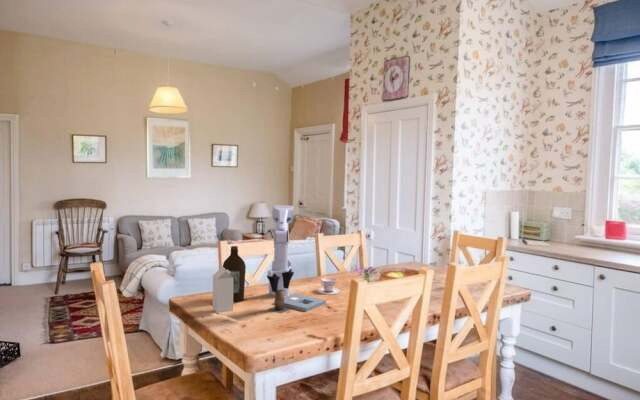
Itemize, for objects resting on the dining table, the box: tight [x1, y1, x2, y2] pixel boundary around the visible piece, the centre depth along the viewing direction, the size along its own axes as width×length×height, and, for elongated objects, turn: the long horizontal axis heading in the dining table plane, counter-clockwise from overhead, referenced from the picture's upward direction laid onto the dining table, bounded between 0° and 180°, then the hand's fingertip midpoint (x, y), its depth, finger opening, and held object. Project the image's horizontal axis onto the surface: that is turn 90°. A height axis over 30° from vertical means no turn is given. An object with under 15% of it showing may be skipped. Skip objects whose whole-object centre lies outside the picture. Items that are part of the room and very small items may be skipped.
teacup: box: [316, 277, 341, 295], centre depth 223 cm, size 12×12×6 cm
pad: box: [266, 306, 292, 314], centre depth 189 cm, size 8×8×1 cm
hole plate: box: [273, 293, 327, 313], centre depth 198 cm, size 18×15×3 cm
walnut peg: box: [274, 290, 285, 311], centre depth 189 cm, size 4×4×8 cm
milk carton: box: [212, 265, 234, 315], centre depth 187 cm, size 7×7×19 cm
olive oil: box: [222, 245, 247, 303], centre depth 205 cm, size 11×11×25 cm
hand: (280, 289), depth 189 cm, fingers open, 7 cm apart
